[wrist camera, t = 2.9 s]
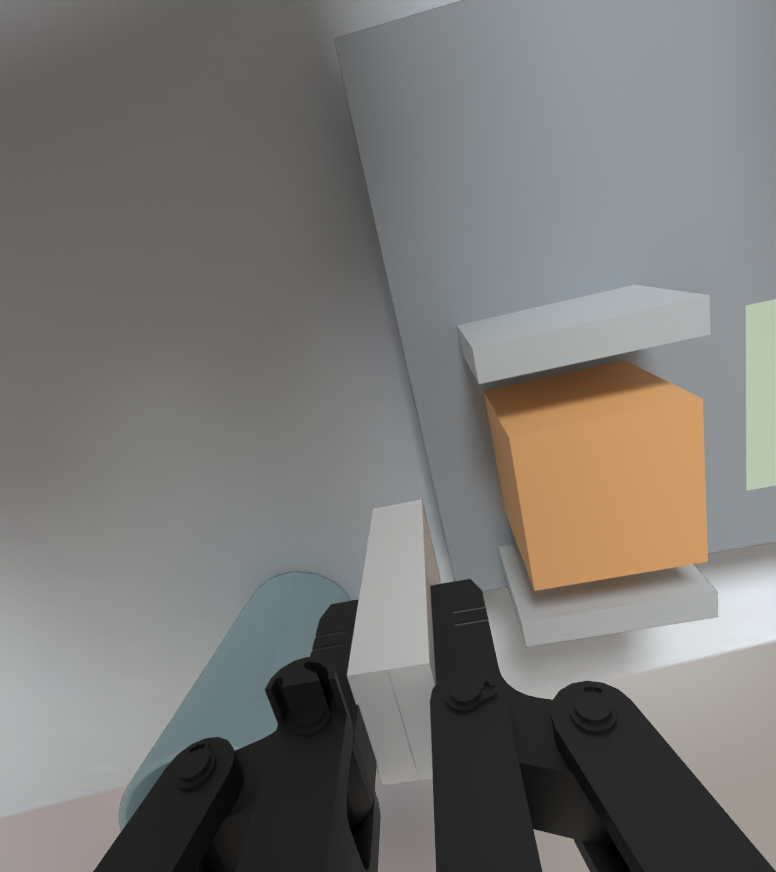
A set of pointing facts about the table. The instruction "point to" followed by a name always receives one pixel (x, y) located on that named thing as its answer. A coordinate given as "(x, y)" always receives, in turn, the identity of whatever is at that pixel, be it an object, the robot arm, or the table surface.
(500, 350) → the platform
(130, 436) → the table surface
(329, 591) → the cup
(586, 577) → the orange block
